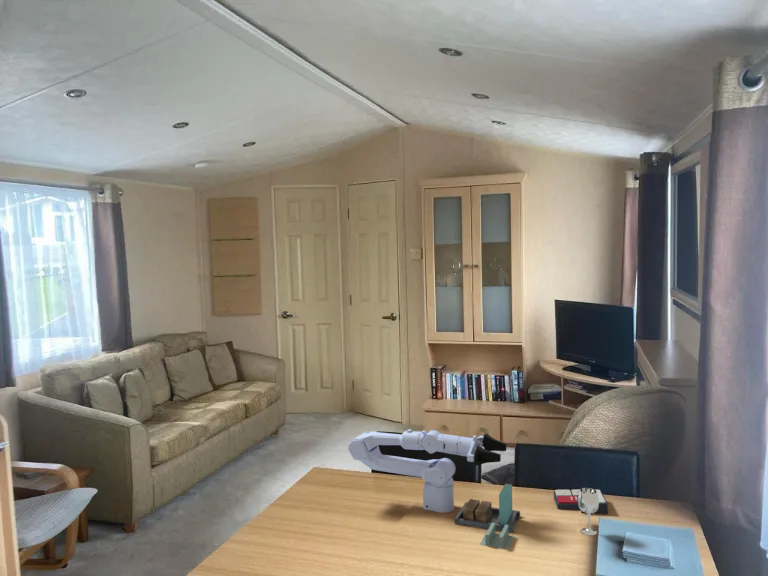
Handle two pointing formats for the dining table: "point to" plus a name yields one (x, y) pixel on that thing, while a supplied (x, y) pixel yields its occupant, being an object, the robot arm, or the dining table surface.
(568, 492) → the black red box
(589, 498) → the wineglass
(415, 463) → the robot arm
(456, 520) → the rack
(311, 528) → the dining table surface
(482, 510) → the offcut
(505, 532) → the stand
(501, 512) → the teal flat block
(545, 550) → the dining table surface
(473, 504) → the offcut
